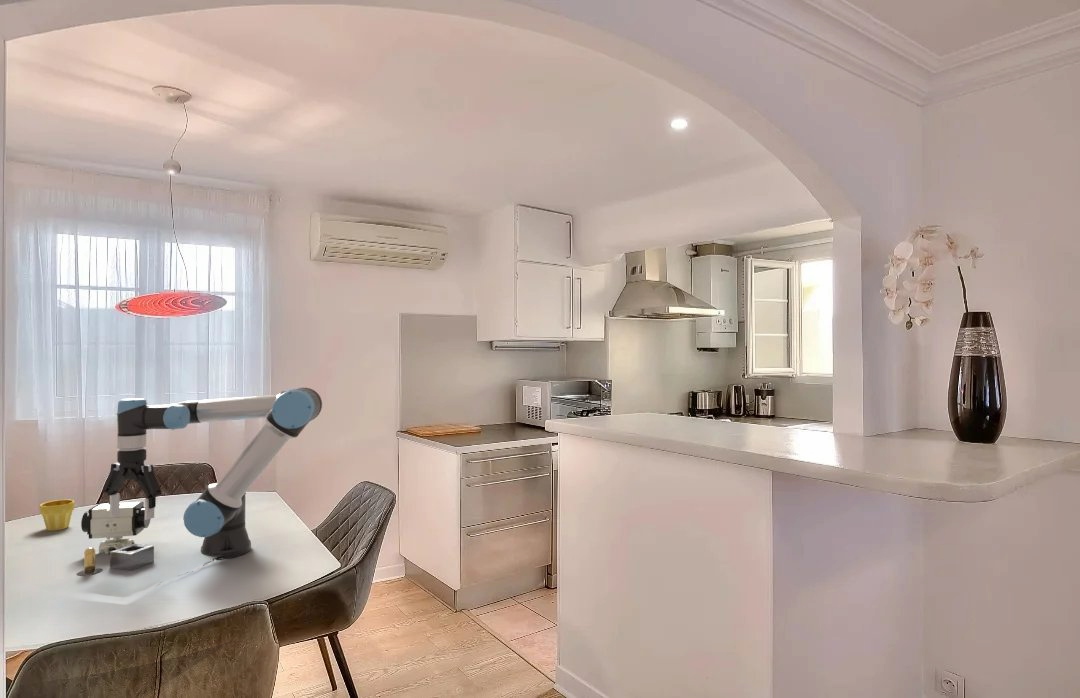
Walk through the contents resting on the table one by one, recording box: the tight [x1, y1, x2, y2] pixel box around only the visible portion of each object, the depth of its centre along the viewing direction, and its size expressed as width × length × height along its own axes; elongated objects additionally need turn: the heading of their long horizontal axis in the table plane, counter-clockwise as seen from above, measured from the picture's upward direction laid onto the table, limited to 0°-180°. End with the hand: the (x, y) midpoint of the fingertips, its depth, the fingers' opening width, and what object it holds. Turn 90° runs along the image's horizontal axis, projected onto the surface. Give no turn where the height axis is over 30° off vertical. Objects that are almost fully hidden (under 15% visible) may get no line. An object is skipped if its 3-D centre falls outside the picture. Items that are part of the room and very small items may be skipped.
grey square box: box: [109, 543, 155, 572], centre depth 190 cm, size 8×8×5 cm
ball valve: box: [80, 501, 151, 555], centre depth 204 cm, size 18×8×18 cm, turn 105°
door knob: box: [76, 547, 104, 577], centre depth 184 cm, size 6×6×9 cm
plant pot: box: [39, 499, 75, 532], centre depth 232 cm, size 10×10×10 cm
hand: (131, 517), depth 190 cm, fingers open, 13 cm apart
